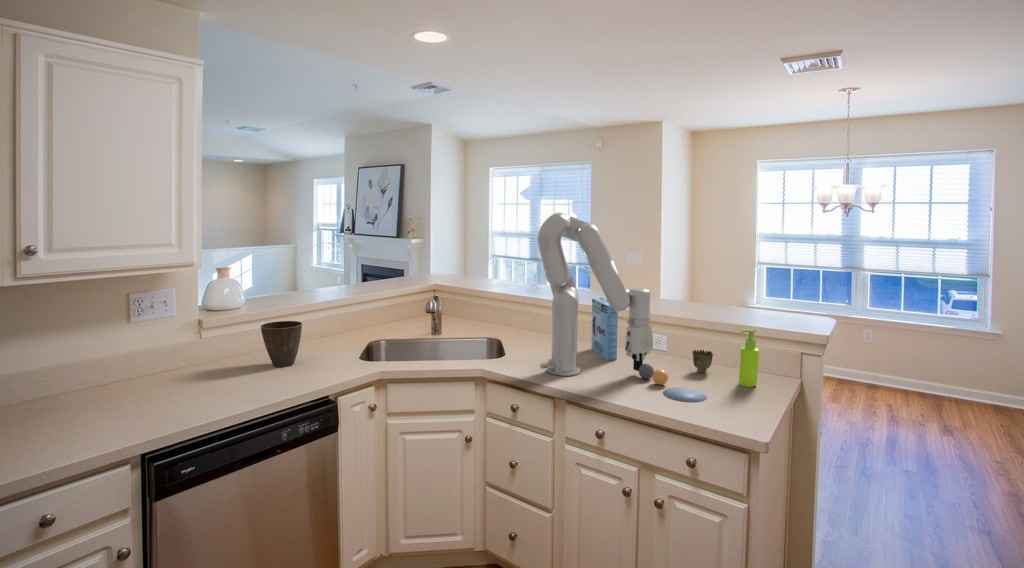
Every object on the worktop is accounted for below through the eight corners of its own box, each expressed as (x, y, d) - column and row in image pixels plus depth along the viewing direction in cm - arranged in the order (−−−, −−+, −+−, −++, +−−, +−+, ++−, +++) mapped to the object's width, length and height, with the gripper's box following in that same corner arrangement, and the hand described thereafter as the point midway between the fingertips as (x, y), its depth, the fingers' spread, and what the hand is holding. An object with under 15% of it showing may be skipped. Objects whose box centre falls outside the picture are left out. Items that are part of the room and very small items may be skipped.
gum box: (616, 360, 230) (618, 305, 226) (605, 360, 229) (606, 305, 225) (601, 348, 248) (602, 297, 245) (590, 348, 248) (591, 297, 244)
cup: (713, 375, 209) (714, 355, 208) (692, 374, 211) (693, 353, 210) (710, 370, 217) (711, 350, 215) (690, 368, 218) (691, 348, 217)
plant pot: (253, 367, 215) (251, 326, 213) (283, 357, 228) (281, 319, 226) (283, 371, 209) (281, 330, 207) (312, 361, 223) (310, 322, 221)
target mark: (684, 404, 178) (684, 404, 178) (654, 391, 191) (654, 391, 191) (716, 398, 185) (716, 397, 185) (684, 385, 197) (685, 385, 197)
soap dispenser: (733, 382, 202) (736, 327, 199) (751, 381, 202) (755, 327, 200) (740, 387, 196) (744, 331, 193) (759, 387, 197) (763, 331, 194)
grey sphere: (633, 373, 206) (642, 382, 202) (638, 361, 204) (648, 370, 200) (643, 371, 209) (653, 381, 205) (649, 360, 207) (659, 369, 203)
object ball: (659, 388, 194) (660, 372, 194) (648, 383, 199) (649, 368, 199) (671, 385, 197) (672, 370, 196) (660, 381, 202) (661, 366, 201)
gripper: (630, 326, 200) (629, 375, 202) (661, 321, 207) (659, 369, 210) (616, 322, 206) (615, 370, 209) (647, 318, 214) (645, 364, 216)
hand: (637, 370), depth 209 cm, fingers closed
